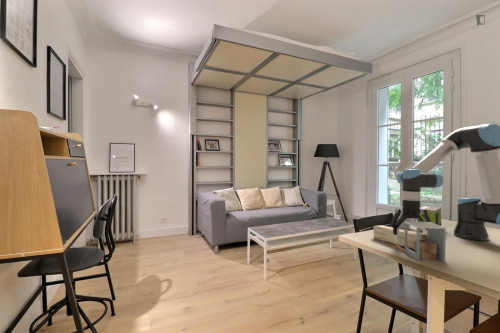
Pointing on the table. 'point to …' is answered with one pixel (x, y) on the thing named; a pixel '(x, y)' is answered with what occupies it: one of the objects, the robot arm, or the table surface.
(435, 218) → the tea box
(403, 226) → the mug
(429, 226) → the grey open frame stool
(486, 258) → the table surface
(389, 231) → the wooden beam
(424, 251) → the block
